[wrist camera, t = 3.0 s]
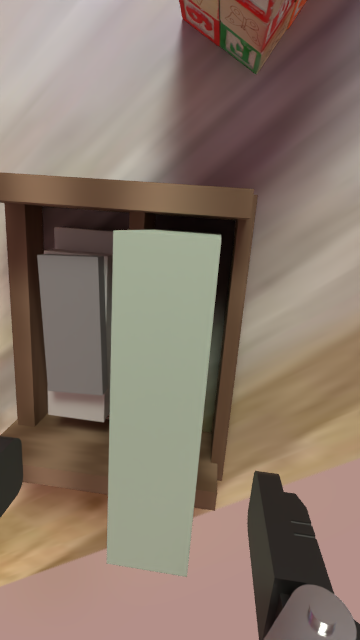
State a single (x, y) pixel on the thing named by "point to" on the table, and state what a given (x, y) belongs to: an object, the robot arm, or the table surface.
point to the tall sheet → (158, 392)
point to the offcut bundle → (78, 322)
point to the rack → (27, 326)
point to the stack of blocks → (243, 25)
